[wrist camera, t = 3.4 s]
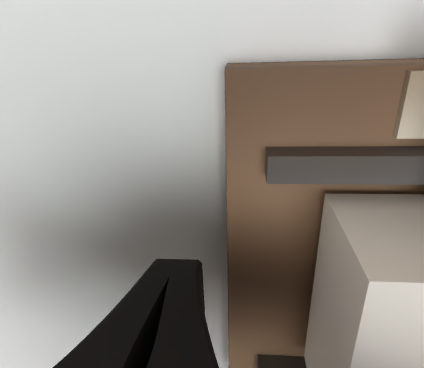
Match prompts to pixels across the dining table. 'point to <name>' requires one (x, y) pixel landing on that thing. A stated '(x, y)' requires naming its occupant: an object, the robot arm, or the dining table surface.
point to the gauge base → (305, 181)
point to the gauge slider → (368, 283)
